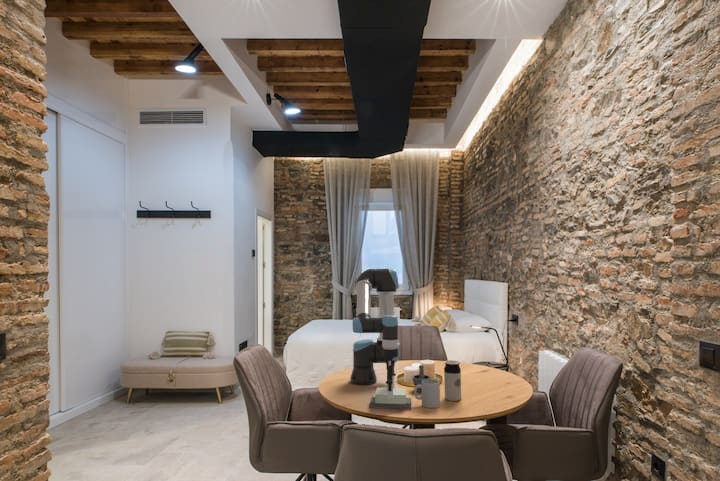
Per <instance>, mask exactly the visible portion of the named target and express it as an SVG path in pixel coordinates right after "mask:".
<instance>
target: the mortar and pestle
mask: <svg viewBox="0 0 720 481" xmlns="http://www.w3.org/2000/svg"><path fill="white" fill-rule="evenodd" d="M418 368H419V369H418V370H419V371H418V374H415V375H412V381H413V382H412V383H413V385H414V386H415V387H416V386H417V385H421V384H422V380H425V379H432V377H431V376H430V375H427V374H425V372H424V371H425V370H424V369H425V366H424V365H422V364H421V365H419V366H418ZM416 392H420V393H422V389H421V388H418V389H417V391H416Z"/></svg>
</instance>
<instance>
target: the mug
mask: <svg viewBox="0 0 720 481" xmlns="http://www.w3.org/2000/svg"><path fill="white" fill-rule="evenodd" d="M440 385H441V384H440V381H439V380H437V379H433V378H431V379H425V380H422V384H421V385H417V386H415V387H414V391H413V394H414V398H415V399H417V400H418V401H419V400H420V401H421V406H422V407H424V408H427V409H438V408H439V407H441V395H440V394H441V393H440V392H441V391H440V390H441V389H440V388H441V386H440ZM418 388H421V389H422V392H421V395H418V394H417V392H418V391H417V389H418Z"/></svg>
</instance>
